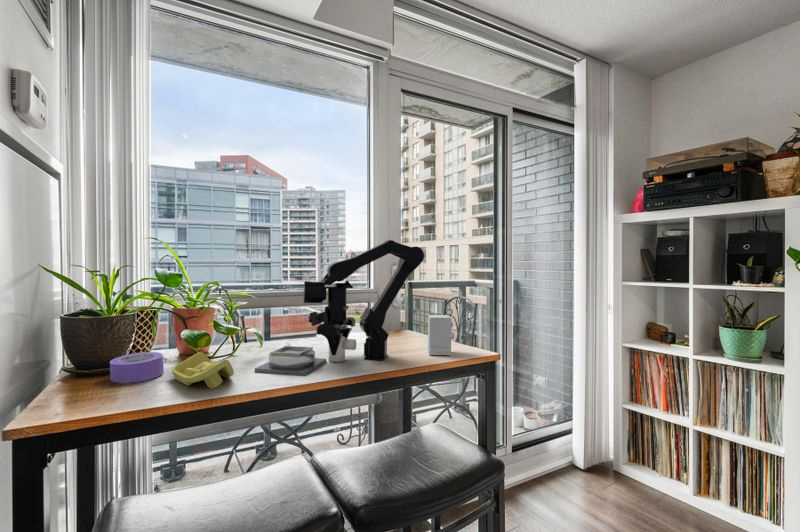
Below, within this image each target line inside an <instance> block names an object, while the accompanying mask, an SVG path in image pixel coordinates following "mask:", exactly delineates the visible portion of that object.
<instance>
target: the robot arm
mask: <svg viewBox="0 0 800 532" xmlns="http://www.w3.org/2000/svg"><path fill="white" fill-rule="evenodd" d="M388 254H390V255H392V256H394V257H397V258H399V259H398V263H397V268H396V270H395V272H394V273H393V274H392V276H391V278H390V280H389V282H388V283H387V284H386V286H385V288H384V289H383V291H382V293H381V294H380V296H379V298H378V299H377V301H376V303H375V304H374V305H373V306H372V307H371V308H369V307H366V306H365V309H364V312H363V313H362V314H361V316H360V317H359V319H360V321H359V327H360V329H361V331H362V332H363V333H365V336H366V337H367V338H365V342H364V343H363V356H364V357H363V360H372V361H374V360H375V361H384V360H386V359H387V358H388V357H389V354H388V338H389V335H390V334H389V333H388V331H386V330H385V329H384V328H383V327H384V323H385V320H386V315H387V313H388V312H387V311H388V310H389V309H390V306H391V305H392V303H393V302H394V300H395V299H396V297H397V296H398V294H399V292H400V291H401V288H402V287H403V285H404V284H405V282H406V280H407V279H408V277H409V276H410V274H411V273H413V272H414V271H415V270H416V269H418V267H419V266H420V265H421V263H422V262H423V261H424V260H425V252H424V250H423V249H422V248H421V247H419V246H409V245H406V244H402V243H399V242H396V241H394V240H392V239H390V240H389V239H388V240H385V241H383V242H382V243H381V244H378V245H376V246H373V247H372V248H370V249H368V250H366V251H364V252H362V253H360V254H358V255H356V256H353V257H350V258H346V259H343V260H339V261H336V262H333V263H331V264H329V265H328V267H327V269H326V272H327V273H326V274H325V275H324V277H323V278H322V280H321V281H309V280H308V281H307V280H304V282H303V291H302V303H303V304H304V305H305V304H310V305H311V304H323V302H324V301H326V300H327V306H325V307H324V311H323V312H319V313H318V311H313V312H310V313H309V316H308V323H310V324H311V326H312V327H314V326H317V327H316V335H320V336H322V337H324V338H326V341H327V342H328V347H329V346H330V350H331V353H332V355H336V353H337V350H338V347H339V344H340V340H341V337H342V336H344V337H345V339H349V335H350V334H351V331H352V330H353V327H355V326H356V319H355V318H354V317H353V316H347V310H348V309H349V305H347V303H348V302H347V298H348V297H347V290H348V289H353V288H354V286H353V285H352V284H351V283H350V282H349V280H347V279H348V277H350V276H351V275H353V274H354V273H355V272H356V271H357V270H359V269H360V268H362V267H364V266H367V265H369V264H371V263H372V262H374V261H376V260H379V259H381V258H382V257H385V256H387V255H388ZM344 280H345V281H344ZM342 281H344V282H342ZM331 285H332V286H331ZM348 326H350V327H348Z"/></svg>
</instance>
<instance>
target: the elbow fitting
mask: <svg viewBox="0 0 800 532" xmlns="http://www.w3.org/2000/svg"><path fill="white" fill-rule="evenodd" d="M356 349H357V340H356V339H354V338H353V339H352V338H347V339H345V337H344V336H342V337H341V340H340V344H339V347H338V350H337V353H336V355H332V353H331V350H330V346H329V345H328V361H329V362H332V363H333V362H334V363H341V362H344V361H345V360H346V351H347V350H350V351H355V350H356Z"/></svg>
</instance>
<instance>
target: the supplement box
mask: <svg viewBox="0 0 800 532" xmlns="http://www.w3.org/2000/svg"><path fill="white" fill-rule="evenodd" d="M427 353H428V356H430V355H450V354H451V355H452V317H451V316H450V315H448V314H445V315H444V314H433V315H432V314H429V315H428V318H427Z"/></svg>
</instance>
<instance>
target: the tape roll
mask: <svg viewBox="0 0 800 532" xmlns="http://www.w3.org/2000/svg"><path fill="white" fill-rule="evenodd" d="M109 372H110V373H109V375H110V382H111V381H113V382H112V383H114V382H119V383H118V384H130V383H129V382H136V383H141V381H142V382H145V381H149V380H152V379H156V378H158V377H160V376H162V375H163V374H164V372H165V371H164V355H163V353H161V352H157V351H148V352H146V351H145V352H144V351H143V352H137V353H136V352H135V353H130V354H126V355H122V356H117V357H115V358H113V359H111V360H110V361H109Z"/></svg>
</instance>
